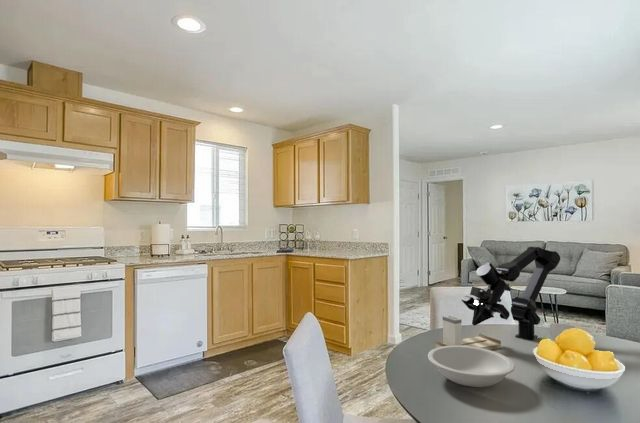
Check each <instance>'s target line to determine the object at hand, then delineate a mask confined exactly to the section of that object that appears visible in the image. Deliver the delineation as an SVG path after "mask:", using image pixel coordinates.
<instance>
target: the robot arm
mask: <svg viewBox="0 0 640 423" xmlns="http://www.w3.org/2000/svg"><path fill="white" fill-rule="evenodd" d="M560 261H561V255H560V254H559V253H558V252H557V251H553V250H548V249H544V248H542V247H539V246H529V247H527V248H526V250H524V251H523V252H522V253H521V254H519V255H517V256H516V257H515V258H514V259H512V260H511V261H508V262H505V263H501V264H500V265H498V266H496V267H494V265H493V264H492V262H486V263H485V264H483V265H481V266H479V267H478V268H477V269H476V275H477V276H478V277H479V278H480V279H481V281H483V283H484V284H485V285H487V287H484V288H481V287H476V286H471V290H470V293H469V295H470V296H468V295H464V296H463V297H462V298H461V302H462V303H463V304H464V305H465V306H466V307H467V308H468V309H469V310H471V311H473V315H472V321H471V322H472V323H471V324H472V325H473V326H474V327H475V326H477V325H479V324H481V323H482V322H485V321H487V320H489V319H491V318H495V316H494V314H496V313H498V314H499V317H500V319H502V320H508V319H509V317H510V316H511V317H512V319H513V321H517V323H518V324H517V325H518V333H517V334H515V338H520V339H523V340H524V339H525V340H528V341H534V340H535V339H537V338H538V335H536V334H535V325H536V326H537V325H539V324H540V323H541V318H540V316H539V315H538V314H537V304H536V302H537V299H538V297H539V294H540V292H541V290H542V288H543V286H544V283H545V282H546V279H547V277H548V274H549V273H550V272H551V271H553V270H555V269H556V268H557V267H558V265H559V263H560ZM533 262H534V263H535V269H534V271H533V272H532V275H531V277H530V279H529V281H528V283H527V284H526V287H525V290H524V292H523V293H522V295H521V296H515V297H514V298H513V302H512V303H511V304H510V305H511V307H510V311H509V310H508V309H507V307H505V305H504V304H500V303H501V302H502V299H501V297H502V296H503V294H504V293H505V291H506V292H510V291H511V288H510V283H506V282H512V283H513V282H515V281H516V280H517V279H518V278H519V277H520V275H521V271H522V270H523V269H525V268H526V267H527V266H529V265H530V264H531V263H533ZM473 296H474V297H475V298H474V297H473ZM510 313H511V315H510Z"/></svg>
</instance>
